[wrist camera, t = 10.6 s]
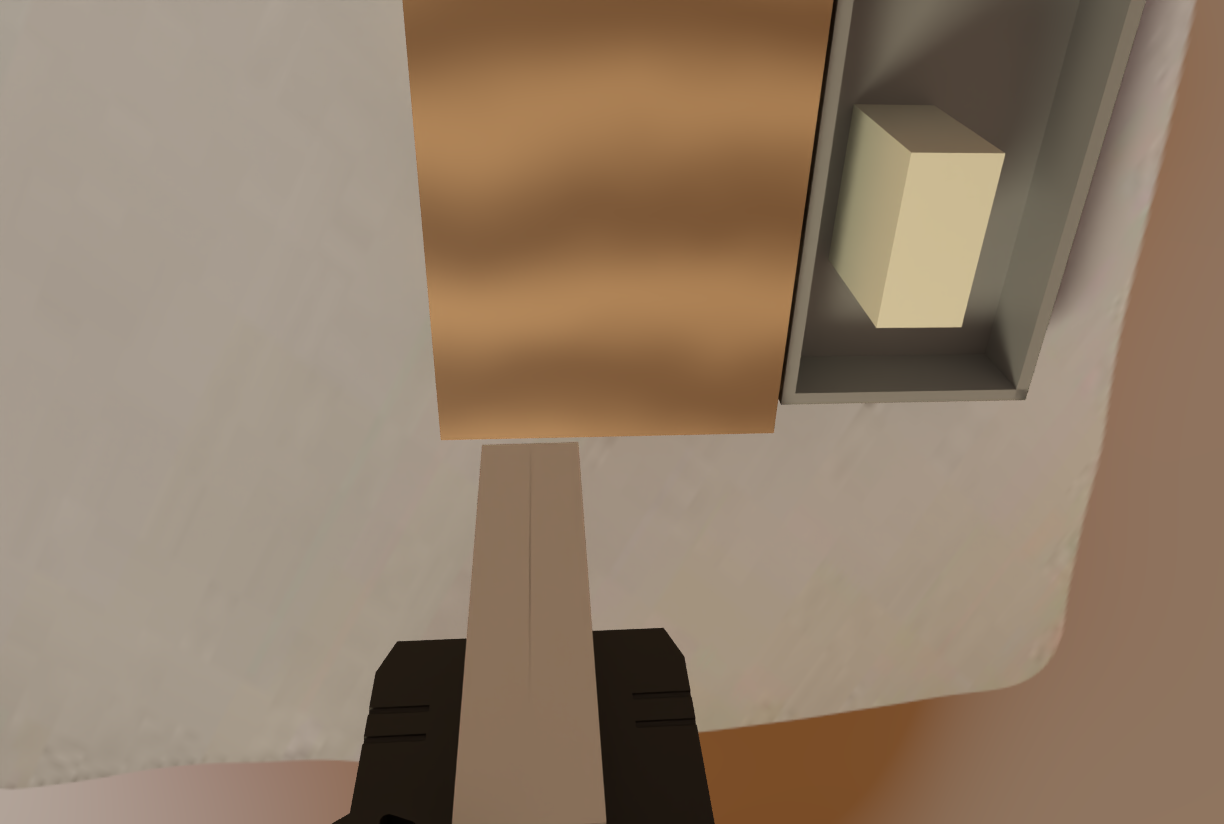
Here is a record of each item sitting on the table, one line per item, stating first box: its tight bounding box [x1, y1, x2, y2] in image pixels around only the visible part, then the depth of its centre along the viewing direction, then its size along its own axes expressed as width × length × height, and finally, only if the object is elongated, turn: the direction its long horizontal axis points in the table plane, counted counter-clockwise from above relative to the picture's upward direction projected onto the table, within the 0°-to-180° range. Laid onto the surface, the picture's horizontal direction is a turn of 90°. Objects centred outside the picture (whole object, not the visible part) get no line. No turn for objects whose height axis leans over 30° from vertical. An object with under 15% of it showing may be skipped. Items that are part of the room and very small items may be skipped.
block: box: [828, 104, 1005, 328], centre depth 33 cm, size 6×6×3 cm
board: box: [403, 0, 833, 440], centre depth 33 cm, size 18×13×4 cm
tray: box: [778, 0, 1146, 405], centre depth 34 cm, size 16×10×4 cm, turn 179°
